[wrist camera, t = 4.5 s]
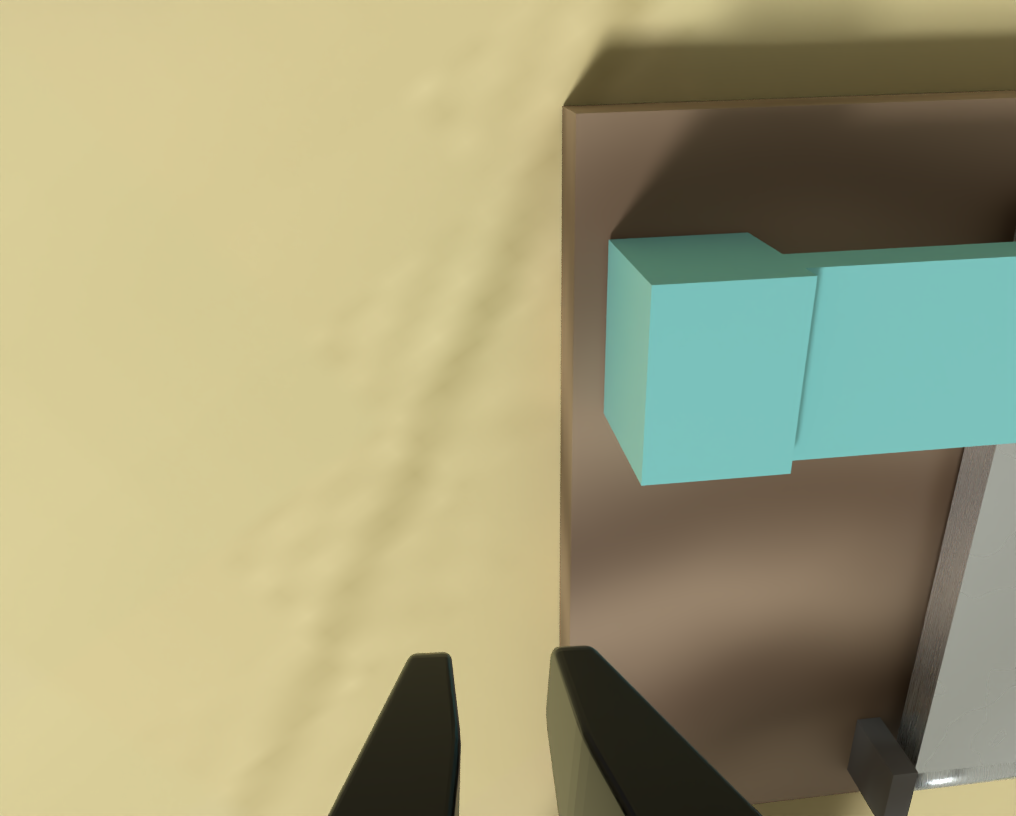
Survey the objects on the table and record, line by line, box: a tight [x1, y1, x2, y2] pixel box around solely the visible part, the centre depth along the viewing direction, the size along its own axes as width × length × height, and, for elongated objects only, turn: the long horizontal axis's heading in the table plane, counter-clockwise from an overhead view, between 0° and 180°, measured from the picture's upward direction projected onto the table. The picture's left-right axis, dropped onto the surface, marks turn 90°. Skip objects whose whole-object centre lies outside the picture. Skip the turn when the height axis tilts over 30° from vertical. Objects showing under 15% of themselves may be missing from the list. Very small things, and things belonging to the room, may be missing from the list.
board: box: [560, 90, 1016, 816], centre depth 22 cm, size 20×17×4 cm
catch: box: [604, 232, 1016, 486], centre depth 17 cm, size 4×8×3 cm, turn 91°
